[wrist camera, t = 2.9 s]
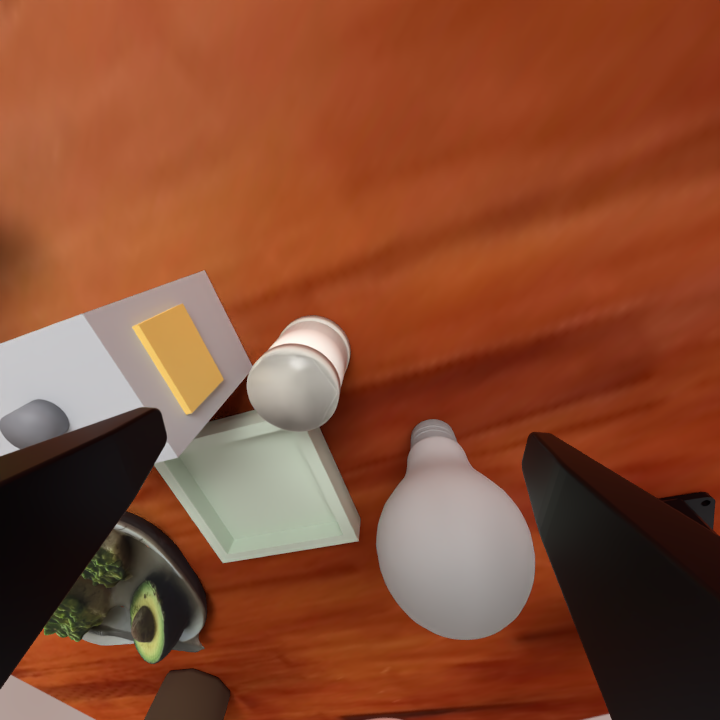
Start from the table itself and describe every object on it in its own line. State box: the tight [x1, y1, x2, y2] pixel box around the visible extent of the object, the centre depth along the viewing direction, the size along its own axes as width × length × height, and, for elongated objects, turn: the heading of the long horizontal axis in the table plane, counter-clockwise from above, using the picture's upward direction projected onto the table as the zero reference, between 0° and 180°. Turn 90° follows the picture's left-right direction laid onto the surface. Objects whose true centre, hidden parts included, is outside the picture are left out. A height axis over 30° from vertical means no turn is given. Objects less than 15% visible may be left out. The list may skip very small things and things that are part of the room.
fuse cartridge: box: [247, 315, 351, 432], centre depth 18 cm, size 4×4×5 cm
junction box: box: [0, 270, 253, 463], centre depth 16 cm, size 6×9×9 cm
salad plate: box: [44, 512, 207, 664], centre depth 29 cm, size 19×18×5 cm
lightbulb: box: [376, 419, 535, 640], centre depth 16 cm, size 6×6×11 cm
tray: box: [154, 410, 361, 563], centre depth 23 cm, size 11×11×2 cm
